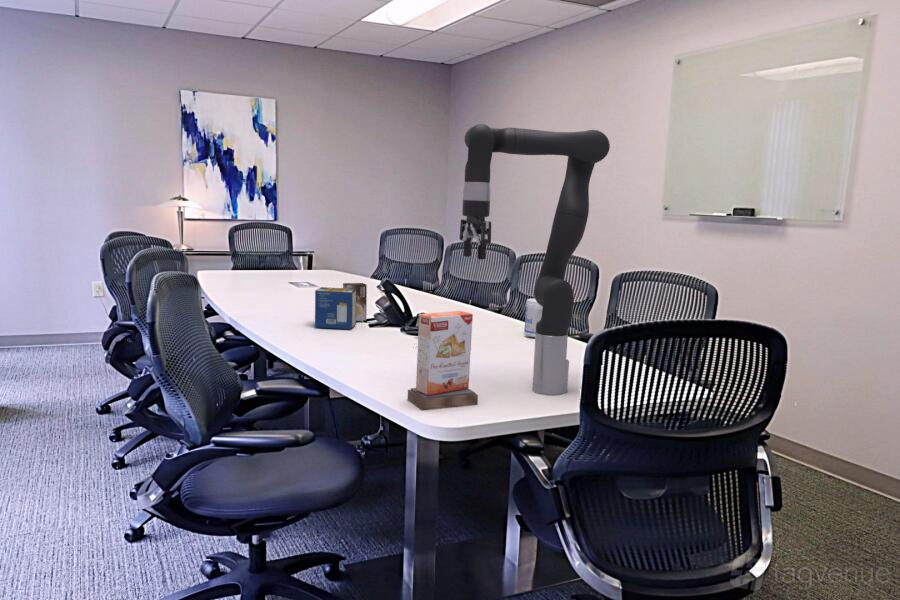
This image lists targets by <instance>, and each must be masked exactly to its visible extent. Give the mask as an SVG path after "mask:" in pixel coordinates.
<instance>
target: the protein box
mask: <svg viewBox="0 0 900 600" xmlns="http://www.w3.org/2000/svg"><path fill="white" fill-rule="evenodd" d="M314 294H315V295H314V302H315V303H314V328H318V329H320V328H322V329H339V330H340V329H341V330H345V329H346V330H352V329H353V328H354V327H355V326H356V325H357V321H356V289H353V288H343V287H324V286H323V287H319V288H317V289H315V290H314Z"/></svg>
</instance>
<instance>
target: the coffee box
mask: <svg viewBox="0 0 900 600" xmlns="http://www.w3.org/2000/svg"><path fill="white" fill-rule="evenodd" d="M367 287H368V286H367V284H366V283H364V282H343V283H342V288H353V289H356V322H358V321H367V315H368V314H367V298H368V297H367V294H368V292H367V290H368V289H367Z"/></svg>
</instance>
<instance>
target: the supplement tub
mask: <svg viewBox="0 0 900 600" xmlns="http://www.w3.org/2000/svg"><path fill="white" fill-rule="evenodd" d="M525 303H526V304H525V314H524V317H525V318H524V331H523V332H524V335H525V336H527V337H532V338H535V334H536V324H537V322H539V321H540V320H541V317H542V308H543V307H542V306H541V305H539V304H538V303H537V301H536V300H535V298H528V299H526V302H525Z"/></svg>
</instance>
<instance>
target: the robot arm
mask: <svg viewBox="0 0 900 600" xmlns="http://www.w3.org/2000/svg"><path fill="white" fill-rule="evenodd" d="M464 143H465V144H464V145H466V147H467V148H468V150H467V161H466V163H465V166H464V168H465V169H464V183H463V191H462V210H461V211H462V216H463V217H466V219H465V218H464V219H461V220H460V226H459V228H460V229H459V241H461V242H462V244H463V248H462V249H463V250H462V252H463V253H462V254H463V256H464V257H466V258H467V257H468V258H470V257H471V256H472V246H473V245H472V241H473V240H474V239H475V240H476V242H477V251H476V252H477V253H476V255H477V256H476V258H477V259H478V260H486V254H487V252H486V251H487V246H488V244H490V245H491V243H492V221H490V220H486V218H488V217H489V216H490V210H491V209H490V208H491V163H492V157H493V153H502V154H508V155H520V156H549V155H550V156H552V155H553V156H564V157H565V156H566V157H567V161H566V162H567V163H566V169H565V170H566V171H565V177H564V181H563V184H562V186H561V190H560V195H559V198H558V201H557V205H556V208H555V209H556V210H555V212H554V216H553V221H552V226H551V229H550V235H549V238H548V243H547V246H546V251H545V255H544V260H543V263H542V266H541V268H540V271H539V274H538V277H537V279H536V282H535V285H534V291H533V296H534V299H535V300H536V301H537V303H538V304H539V305H541V306H542V307H543V308H542V317H541V320H540V321H539V322H537V324H536V334H535V337H534V338H535V339H534V353H533V354H534V355H533V356H534V357H533V369H532V370H533V373H532V374H533V375H532V392H533V393H535V394H539V395H543V396H544V395H545V396H560V395H563V394H565V393H567V392H568V383H569V371H570V370H569V369H570V360H569V359H567V353H568V335H569V328H570V326H571V324H572V319H573V313H574V312H573V311H574V310H573V309H574V298H575V297H574V296H575V295H574V294H575V293H574V289H573V287H572V284H570V282H569V281H567V280H565V276H566V272H567V271H566V270H567V267H568V265H569V261H570V259H571V257H572V256H573V255H574V252H575V250H577V248H578V247H579V245H580V243H581V241H582V239H583V237H584V234H585V231H586V226H587V221H588V219H589V213H590V212H589V211H590V195H589V193H590V191H589V188H590V180H591V177H592V174H593V172H594V171H593V170H594V167H595V165H596V164H597V163H599V162H601V161H603V160H604V159H605V158H606V157H607V155H608V154H609V152H610V148H611V145H610V144H611V143H610V140H609V138H608V137H607V135H606V134H605V133H604V132H602V131H600V130H597V129H588V130H584V131H583V130H581V131H569V132H567V131H550V130H549V131H547V130H538V129H529V128H519V127H503V128H497V127H490V126H488V125H487V124H484V123H477V124H475V125H474V126H471V127H470V128H469V129H467V131H466V132H465V135H464Z"/></svg>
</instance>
